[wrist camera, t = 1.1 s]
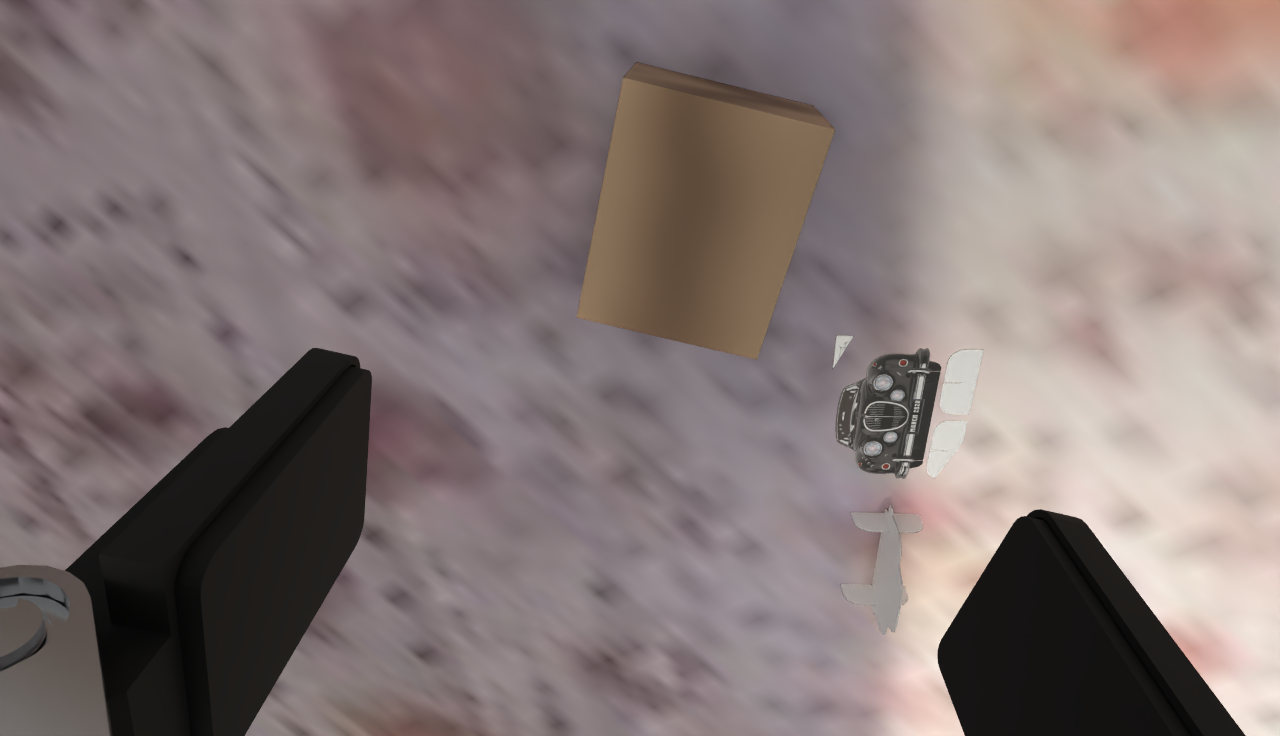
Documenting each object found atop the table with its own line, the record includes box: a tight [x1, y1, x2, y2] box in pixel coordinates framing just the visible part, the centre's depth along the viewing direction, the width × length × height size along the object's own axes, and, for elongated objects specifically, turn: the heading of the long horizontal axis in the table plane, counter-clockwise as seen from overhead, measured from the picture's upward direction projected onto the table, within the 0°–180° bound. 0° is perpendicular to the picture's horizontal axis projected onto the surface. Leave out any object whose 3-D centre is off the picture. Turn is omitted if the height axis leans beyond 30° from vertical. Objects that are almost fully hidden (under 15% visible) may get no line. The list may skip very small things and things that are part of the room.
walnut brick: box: [577, 62, 835, 360], centre depth 25 cm, size 6×8×5 cm
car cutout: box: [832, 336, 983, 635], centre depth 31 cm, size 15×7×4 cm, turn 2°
